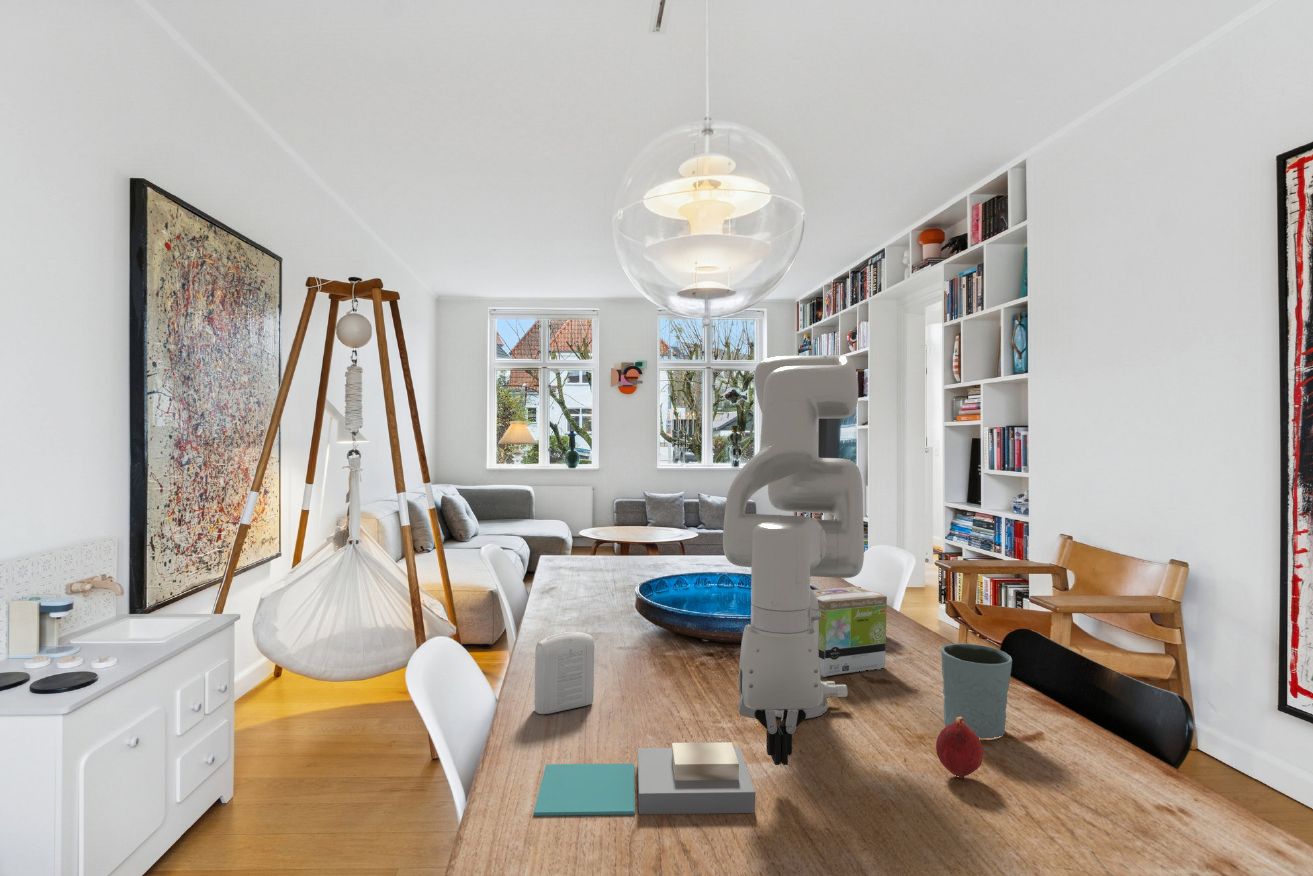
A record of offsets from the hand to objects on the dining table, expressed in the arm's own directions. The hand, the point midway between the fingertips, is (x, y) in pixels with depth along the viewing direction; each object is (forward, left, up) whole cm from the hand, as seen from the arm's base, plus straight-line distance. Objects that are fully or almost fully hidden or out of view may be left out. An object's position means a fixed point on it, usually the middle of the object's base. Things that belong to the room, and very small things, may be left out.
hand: (779, 760), depth 88 cm
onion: (-25, -2, -4) cm, 25 cm away
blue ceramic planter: (-35, -17, -4) cm, 39 cm away
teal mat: (+25, 0, -4) cm, 25 cm away
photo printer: (+30, -27, -4) cm, 41 cm away
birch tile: (+10, 0, -1) cm, 10 cm away
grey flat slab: (+11, 0, -4) cm, 12 cm away
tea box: (-23, -47, -4) cm, 52 cm away
